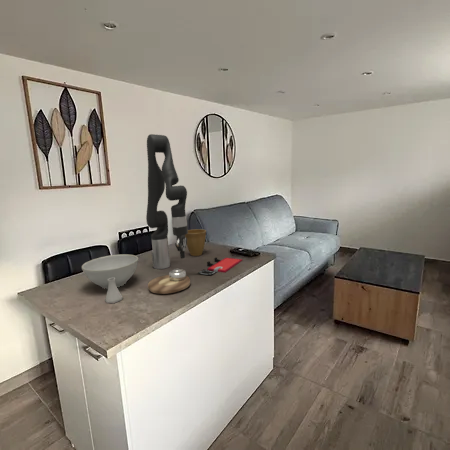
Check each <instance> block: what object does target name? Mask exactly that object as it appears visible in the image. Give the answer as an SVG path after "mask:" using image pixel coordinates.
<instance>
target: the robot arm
mask: <svg viewBox="0 0 450 450" xmlns="http://www.w3.org/2000/svg"><path fill="white" fill-rule="evenodd" d="M169 140H170V139H169V138H168V136H166V135H163V134H152V133H151V134H149V135H148V136H147V138H146V151H147V205H146V215H145V216H146V217H145V218H146V225H147V226H148V228H150V229H155V231H154V232H152V234H151V235H150V236H151V237H150V238H151V245H152V252H151V258H152V259H151V260H152V267H153V269H157V270H161V269H163V270H164V269H168V268H170V267H171V258H170V250H169V249H170V248H169V238H168V235H169V220H168V215H167V213H166V212H165V211H164V210H158V207H159V206H158V205H159V203H160V201H161V199H162V196H163V194H164V192H165V197H166V199H167V200H168V201H178V202H177V203H176V204H174V205H173V204H172V206H171V207H170V212H171V227H172V235H173V236H175V237H176V238H175V240H176V242H175V244H174V245H175V248H176V250H177V251H178V252H179V258H180V259H185V258H186V249H187V238H186V237H185V235H186V234H188V230H189V229H188V221H187V217H186V204H187V203H186V201H187V197H188V190H187V188H186V187H185V186H184V185H177V184H178V183H179V181H180V179H179V176H178V173H177V171H176V167H175V165H174V161H173V160H174V159H173V154H172V148H171V142H170V141H169ZM156 153H162V154H163V156H164V160H163V162H162V166H161V167H160V166H159V164H158V162H157V157H156Z"/></svg>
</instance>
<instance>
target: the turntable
mask: <svg viewBox="0 0 450 450" xmlns="http://www.w3.org/2000/svg"><path fill="white" fill-rule="evenodd" d="M190 285H191V279H190V277H189V276H188V275H186V279H185V280H182V281H177V282H174V281H170V278H169V274H166V275H162V276H161V275H160V276H157V277H155V278H152V279H151V280H149V282H148V284H147V289H148V291H149V292H151V293H154V294H158V295H159V294H161V295H162V294H163V295H164V294H173V293H174V294H175V293H178V292H180V291H183V290H186V289H187V288H189V286H190Z"/></svg>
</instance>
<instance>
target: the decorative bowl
mask: <svg viewBox="0 0 450 450" xmlns="http://www.w3.org/2000/svg"><path fill="white" fill-rule="evenodd" d="M138 265H139V257H138V256H136V255H134V254H127V253H126V254H123V253H122V254H120V253H119V254H110V255H106V256H105V255H104V256H100V257H98V258H93V259H90V260H89V261H86V262H84V263H83V264H82V265H81V270H82V271H83V273H84V275H85V276H86V278H87V279H88V280H89V281H90V282H92V283H93V284H95V285H96V286H97V285H98V286H99V287H100V288H101V287H102V288H101V289H103V288H106V289H105V290H108V286H109V282H108V280H107V279H109V278H115V279H116V280H115V283H116V286H117V287H118V288H120V286H121V287H124V286H125V285H126V284H127V281H128V280H129V279H130V278H132V276H133V275H134V274H135V272H136V270H137V267H138ZM124 284H125V285H124Z"/></svg>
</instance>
